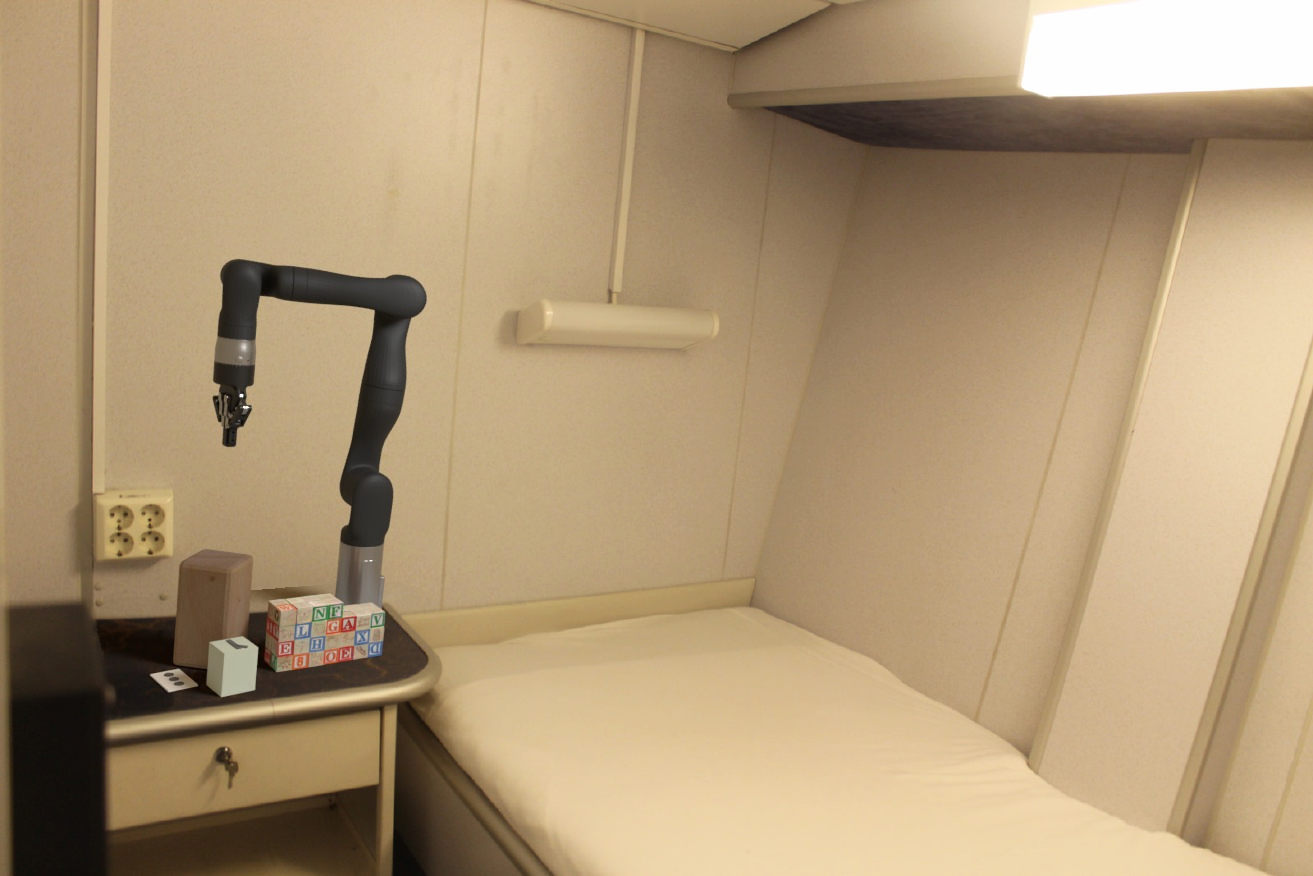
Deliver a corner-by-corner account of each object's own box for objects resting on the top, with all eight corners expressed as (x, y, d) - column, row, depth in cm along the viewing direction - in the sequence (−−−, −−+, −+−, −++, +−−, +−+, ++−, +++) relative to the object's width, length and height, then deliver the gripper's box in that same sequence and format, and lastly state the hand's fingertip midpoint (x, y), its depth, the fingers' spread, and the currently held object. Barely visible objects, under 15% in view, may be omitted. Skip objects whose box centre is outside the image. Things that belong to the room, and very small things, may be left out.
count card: (150, 675, 175) (150, 673, 174) (179, 670, 178) (179, 668, 178) (168, 692, 169) (168, 690, 169) (197, 686, 173) (197, 684, 173)
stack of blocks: (368, 645, 202) (373, 587, 200) (382, 656, 197) (387, 597, 195) (263, 661, 187) (267, 599, 186) (275, 673, 183) (280, 610, 181)
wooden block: (224, 673, 179) (232, 568, 177) (170, 666, 179) (177, 561, 176) (248, 653, 189) (255, 553, 186) (196, 647, 189) (203, 546, 186)
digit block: (239, 678, 179) (242, 635, 177) (255, 690, 175) (258, 646, 173) (206, 685, 174) (209, 641, 173) (221, 697, 170) (224, 652, 169)
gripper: (268, 366, 193) (262, 452, 196) (238, 356, 202) (232, 439, 204) (231, 365, 188) (224, 453, 190) (201, 355, 196) (196, 440, 199)
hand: (228, 446), depth 197 cm, fingers closed
